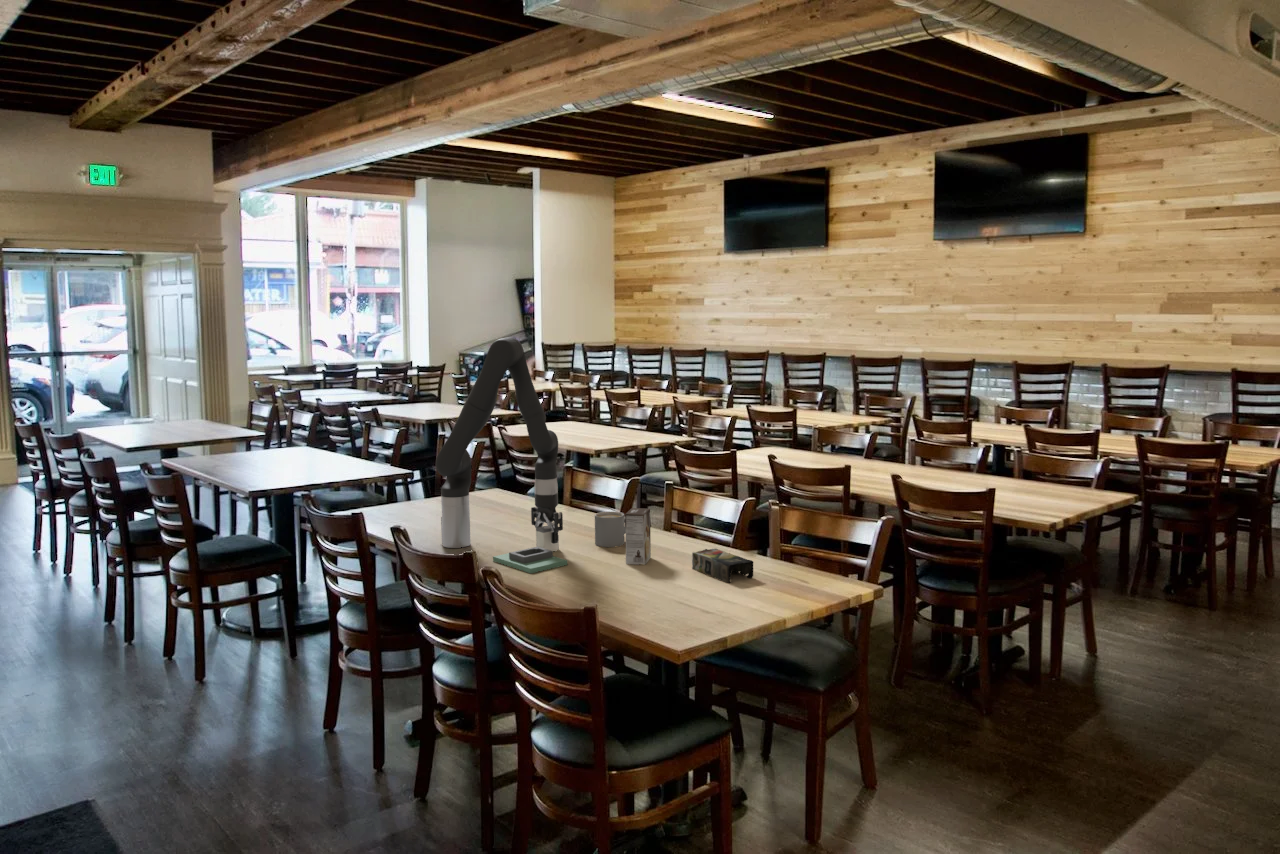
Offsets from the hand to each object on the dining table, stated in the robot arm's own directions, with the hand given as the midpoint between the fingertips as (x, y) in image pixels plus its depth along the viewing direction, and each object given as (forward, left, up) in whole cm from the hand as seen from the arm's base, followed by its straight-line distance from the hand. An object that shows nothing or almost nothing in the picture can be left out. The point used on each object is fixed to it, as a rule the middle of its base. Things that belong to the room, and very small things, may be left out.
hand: (547, 540), depth 320 cm
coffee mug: (+7, +23, -4) cm, 24 cm away
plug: (0, 0, -3) cm, 3 cm away
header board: (+8, -13, -3) cm, 16 cm away
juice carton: (+58, +21, -4) cm, 62 cm away
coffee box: (+30, +13, -4) cm, 33 cm away
